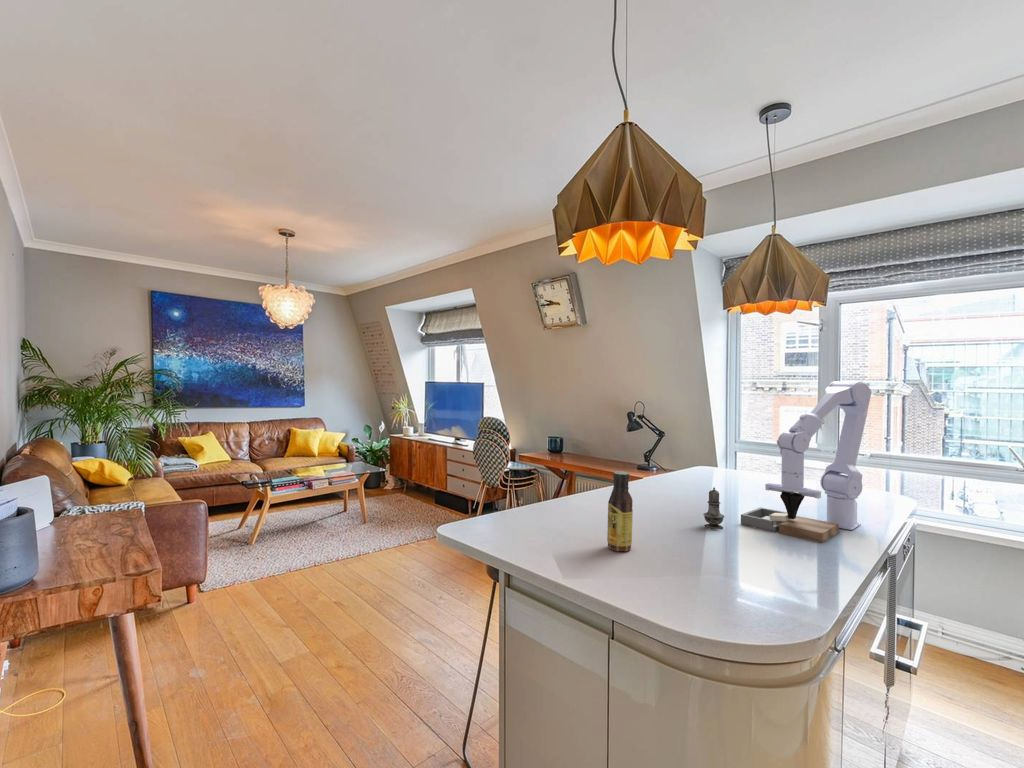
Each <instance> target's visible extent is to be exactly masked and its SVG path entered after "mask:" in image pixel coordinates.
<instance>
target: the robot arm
mask: <svg viewBox="0 0 1024 768" xmlns="http://www.w3.org/2000/svg"><path fill="white" fill-rule="evenodd" d="M871 395H872V389H870V387H869V385H868V384H867V382H865V381H862V380H859V381H837V380H834V381H832V382H830V383H829V384H828V386H827V387H826V388H825V389H824V395H823V397H822V398H820V400H819V401H818V402H817V404H816V405H815V407H813V409H812V411H811V412H810V413H804V414H801V415H800V416H799V419H798V420H797V421H796V422H794V424H793V425H792V426H791V427H790V428H789V429H788V431H784V432H782V433H781V434H780V435H779V436H778V438H777V440H776V445H777V447H778V449H779V455H780V456H781V478H780V479H781V483H780V484H778V483H769V482H767V483H765V485H764V486H765V491H772V492H779V493H780V494H779V496H780V497H779V498H780V499H781V501H782V502H783V504H784V507H785V509H786V512H787V514H788V518H789V519H795V518H796V516H797V513H798V511H799V508H800V505H801V504H802V502H803V501H804V499H805V497H809V498H814V499H818V500H819V499H821V498H822V490H823V491H824V495H826V520H825V521H826V522H831V523H836V524H839V529H844V530H849V531H853V530H855V529H857V528H858V527H859V526H861V525H862V523H861V522H858V502H857V500H856V499H858V497H859V496H860V495H862V494H861V493H862V492H863V474H862V473H861V472H860V470H859V469H858V468H856V466H857V460H858V457H859V452H860V448H861V443H862V439H863V435H864V430H865V425H866V422H867V421H866V420H867V416H868V414H869V413H868V412H869V405H870V401H871ZM836 407H838V408H839V409H841V410H842V411H843V413H844V418H843V422H842V428H841V431H840V435H839V436H840V437H839V440H838V445H837V450H836V453H835V458H834V462H832V463H831V464H829V465H827V466H826V467H825V471H824V473H823V474H822V475H821V478H820V481H819V482H820V487H821V489H822V490H817V489H812V488H807V487H804V485H805V484H804V483H805V482H804V481H805V480H804V479H805V477H804V476H805V475H804V473H805V468H804V467H805V452H806V451H807V450H808V449H809V447H810V442H811V440H812V438H813V436H814V435H815V434H816V433H817V432H818V431H819V430H820V429H821V428H822V427H823V426H822V425H823V424H822V420H824V418H826V417H827V416H828V414H830V413H831V412H832V411H833V410H834V409H836Z"/></svg>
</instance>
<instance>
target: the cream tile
mask: <svg viewBox="0 0 1024 768" xmlns="http://www.w3.org/2000/svg"><path fill="white" fill-rule="evenodd" d="M769 517H770V520H773V521H788V520H790V519H789V518H788V514H787V513H773V514H771V515H769Z"/></svg>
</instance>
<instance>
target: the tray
mask: <svg viewBox="0 0 1024 768" xmlns="http://www.w3.org/2000/svg"><path fill="white" fill-rule="evenodd" d="M773 513H787V511H786V512H785V511H781V510H775V509H771V508H770V509H769V508H765V507H757V508H755V509H752V510H750V511H747V512H745V513H742V514H740V525H741V526H745V525H746V527H751V528H754V527H755V529H759V530H763V529H764V530H763V531H768V530H769V532H772V531H774V532H773V533H777V532H779V524H781V523H783V522H785V521H782V522H780V523H778V524H776V525H774V526H773V520H768V519H763V517H765V516H769V515H771V514H773ZM776 531H777V532H776Z"/></svg>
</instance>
